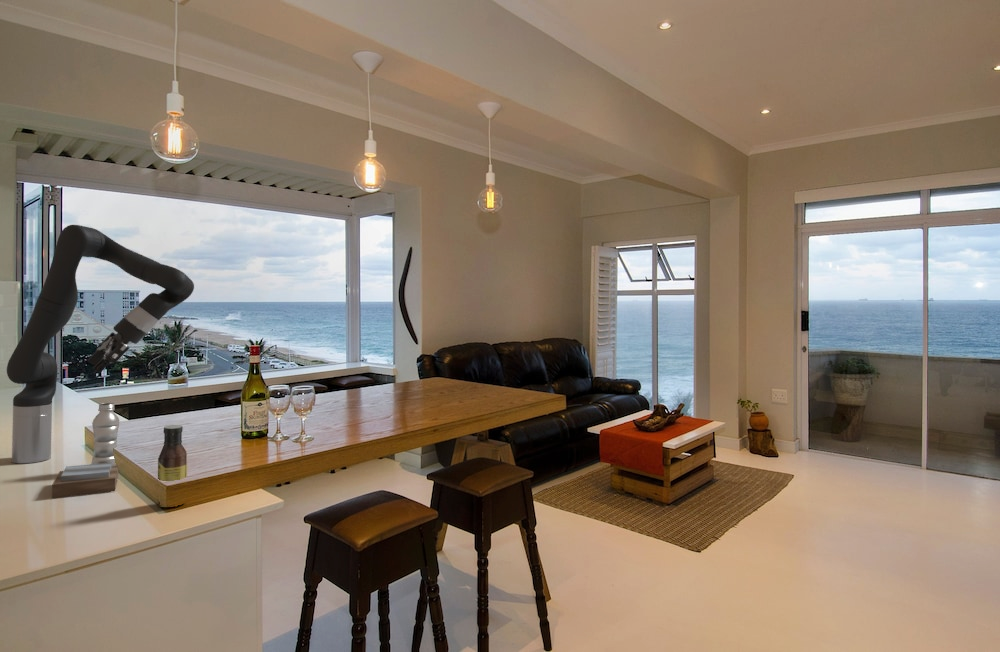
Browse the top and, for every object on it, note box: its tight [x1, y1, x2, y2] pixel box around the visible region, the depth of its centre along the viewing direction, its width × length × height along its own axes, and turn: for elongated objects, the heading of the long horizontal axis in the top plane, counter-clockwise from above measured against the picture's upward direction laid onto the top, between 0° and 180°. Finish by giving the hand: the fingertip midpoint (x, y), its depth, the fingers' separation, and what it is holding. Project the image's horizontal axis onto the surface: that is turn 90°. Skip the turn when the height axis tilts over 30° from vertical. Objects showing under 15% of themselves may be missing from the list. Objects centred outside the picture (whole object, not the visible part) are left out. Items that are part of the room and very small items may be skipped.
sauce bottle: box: [157, 424, 188, 508], centre depth 136 cm, size 6×6×20 cm
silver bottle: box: [91, 402, 120, 466], centre depth 161 cm, size 6×7×20 cm
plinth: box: [51, 462, 119, 499], centre depth 147 cm, size 13×13×5 cm
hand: (92, 367), depth 158 cm, fingers open, 8 cm apart
